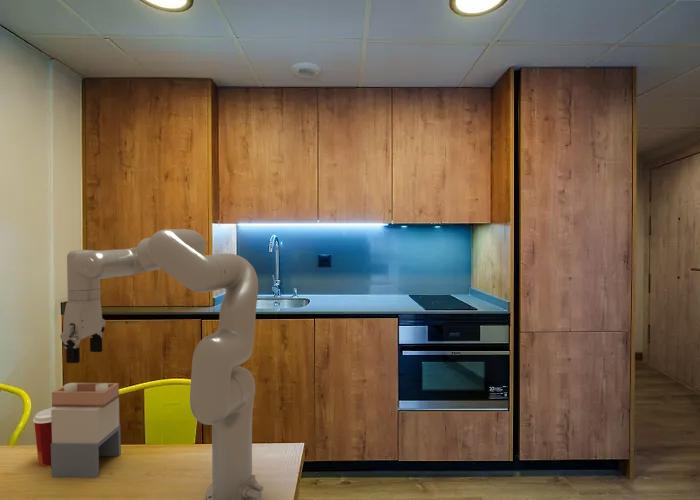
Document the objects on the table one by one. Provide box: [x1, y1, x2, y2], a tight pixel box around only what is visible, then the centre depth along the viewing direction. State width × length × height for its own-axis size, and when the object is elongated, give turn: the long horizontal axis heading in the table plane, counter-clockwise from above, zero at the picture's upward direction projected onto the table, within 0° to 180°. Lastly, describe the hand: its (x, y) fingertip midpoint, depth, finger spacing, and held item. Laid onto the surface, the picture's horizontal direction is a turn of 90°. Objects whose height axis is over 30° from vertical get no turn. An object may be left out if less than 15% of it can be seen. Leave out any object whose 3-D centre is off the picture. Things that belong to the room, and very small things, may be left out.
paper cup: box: [32, 407, 54, 467], centre depth 116 cm, size 8×8×14 cm
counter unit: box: [50, 396, 122, 479], centre depth 114 cm, size 12×11×18 cm
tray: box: [51, 382, 120, 408], centre depth 114 cm, size 14×7×5 cm, turn 90°
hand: (85, 356), depth 113 cm, fingers open, 9 cm apart
